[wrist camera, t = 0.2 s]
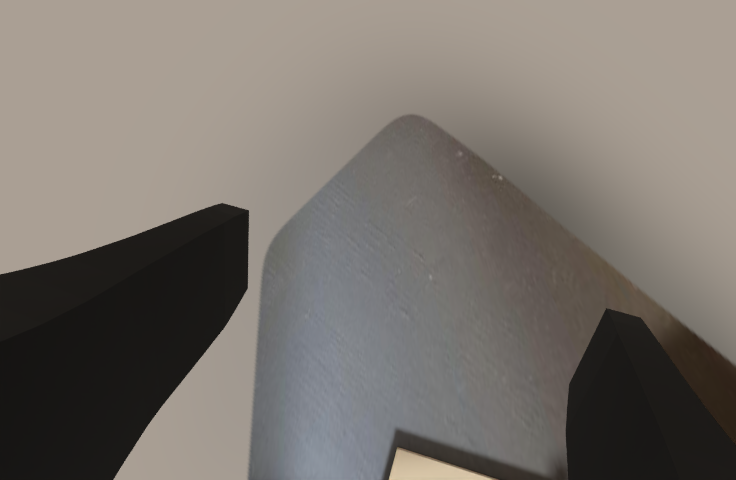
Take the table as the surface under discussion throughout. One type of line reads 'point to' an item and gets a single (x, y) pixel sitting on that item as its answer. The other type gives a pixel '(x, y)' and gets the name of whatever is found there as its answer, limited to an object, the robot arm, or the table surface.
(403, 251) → the table surface
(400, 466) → the board
